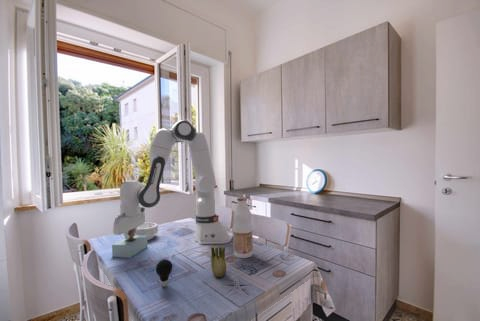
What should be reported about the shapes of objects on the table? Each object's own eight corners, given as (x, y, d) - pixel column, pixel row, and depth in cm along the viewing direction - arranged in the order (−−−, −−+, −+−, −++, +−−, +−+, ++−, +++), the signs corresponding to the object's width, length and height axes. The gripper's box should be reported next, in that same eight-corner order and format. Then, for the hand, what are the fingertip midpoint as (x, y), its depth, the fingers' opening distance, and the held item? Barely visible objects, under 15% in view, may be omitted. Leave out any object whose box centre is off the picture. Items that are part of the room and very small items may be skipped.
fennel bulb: (210, 275, 91) (209, 246, 91) (218, 271, 95) (218, 242, 95) (220, 280, 87) (219, 249, 87) (228, 275, 91) (228, 245, 91)
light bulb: (158, 282, 86) (158, 257, 86) (174, 281, 87) (173, 256, 87) (154, 291, 81) (153, 264, 81) (170, 290, 81) (170, 263, 81)
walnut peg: (134, 245, 118) (134, 226, 118) (131, 247, 115) (130, 228, 115) (129, 245, 119) (129, 226, 119) (126, 247, 116) (125, 228, 116)
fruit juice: (233, 259, 106) (232, 199, 105) (233, 251, 115) (232, 196, 115) (253, 258, 106) (252, 199, 106) (251, 250, 115) (250, 196, 115)
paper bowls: (162, 234, 143) (162, 222, 143) (148, 243, 128) (148, 229, 128) (140, 233, 146) (140, 221, 146) (124, 242, 131) (124, 228, 131)
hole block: (147, 246, 123) (147, 235, 123) (130, 257, 109) (129, 245, 109) (131, 245, 125) (131, 235, 125) (112, 256, 111) (112, 244, 111)
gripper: (120, 216, 106) (121, 245, 106) (146, 207, 126) (147, 231, 126) (109, 216, 107) (110, 245, 108) (136, 207, 128) (137, 231, 128)
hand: (130, 237), depth 117 cm, fingers closed on walnut peg, 3 cm apart
